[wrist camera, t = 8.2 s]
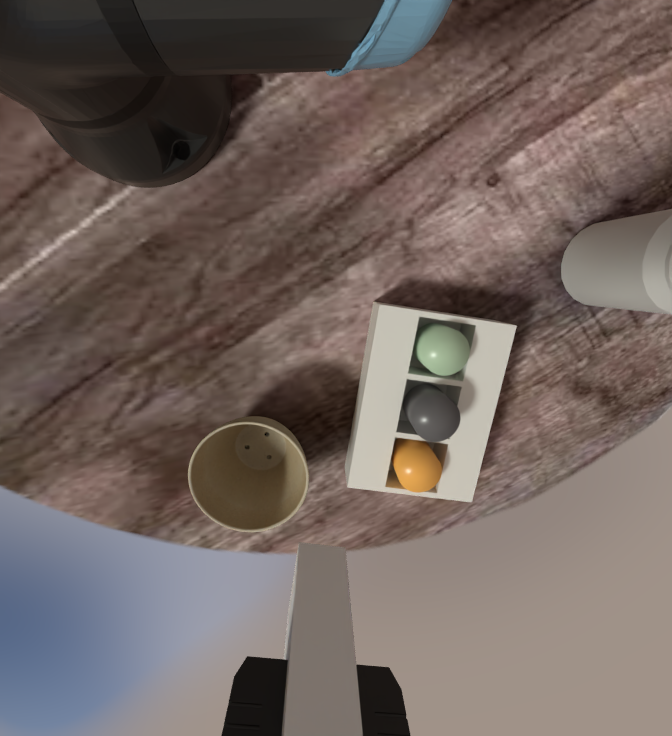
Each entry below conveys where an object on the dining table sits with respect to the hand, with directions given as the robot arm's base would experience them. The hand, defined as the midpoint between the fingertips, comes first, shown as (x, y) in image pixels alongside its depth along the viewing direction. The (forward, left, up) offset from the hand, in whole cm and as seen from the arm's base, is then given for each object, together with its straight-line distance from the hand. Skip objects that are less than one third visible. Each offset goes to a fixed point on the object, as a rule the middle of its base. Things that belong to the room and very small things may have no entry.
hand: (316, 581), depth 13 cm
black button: (0, +10, -24) cm, 26 cm away
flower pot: (+8, -5, -27) cm, 28 cm away
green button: (-5, +10, -25) cm, 28 cm away
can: (-14, +24, -27) cm, 39 cm away
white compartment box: (0, +10, -26) cm, 28 cm away
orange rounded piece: (+6, +10, -25) cm, 28 cm away
